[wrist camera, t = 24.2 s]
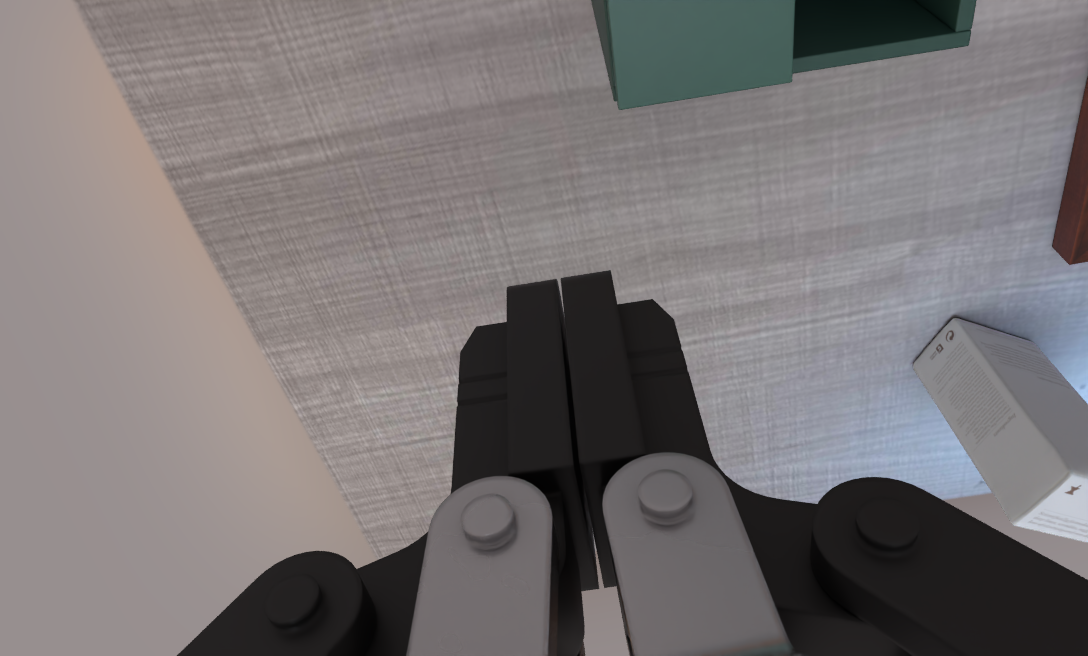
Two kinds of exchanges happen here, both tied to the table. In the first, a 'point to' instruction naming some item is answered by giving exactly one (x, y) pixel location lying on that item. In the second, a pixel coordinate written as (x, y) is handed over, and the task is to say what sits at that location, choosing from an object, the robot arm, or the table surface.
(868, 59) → the green open box
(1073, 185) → the picture frame
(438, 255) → the table surface
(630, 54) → the flap
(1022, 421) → the cosmetic box
